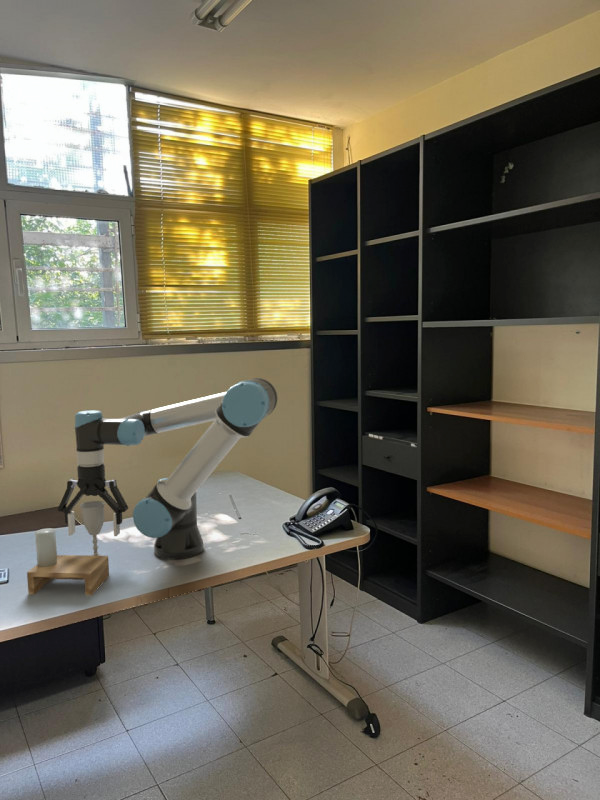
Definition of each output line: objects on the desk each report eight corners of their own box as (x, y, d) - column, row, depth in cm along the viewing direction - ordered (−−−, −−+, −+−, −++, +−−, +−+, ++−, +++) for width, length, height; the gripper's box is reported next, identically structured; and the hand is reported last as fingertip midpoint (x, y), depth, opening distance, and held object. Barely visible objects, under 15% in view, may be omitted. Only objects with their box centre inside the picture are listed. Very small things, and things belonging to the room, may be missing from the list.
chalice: (78, 566, 173) (74, 506, 171) (94, 557, 180) (90, 500, 178) (98, 569, 171) (94, 508, 169) (113, 560, 177) (110, 502, 175)
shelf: (109, 576, 166) (108, 555, 165) (91, 595, 154) (90, 573, 153) (50, 575, 167) (49, 554, 166) (28, 594, 155) (26, 572, 154)
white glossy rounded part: (60, 559, 162) (58, 528, 161) (51, 567, 157) (49, 534, 156) (43, 559, 163) (41, 528, 162) (33, 566, 158) (31, 534, 157)
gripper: (137, 461, 175) (140, 530, 177) (55, 460, 176) (59, 529, 179) (128, 467, 167) (131, 539, 170) (42, 466, 169) (47, 538, 171)
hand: (94, 534), depth 174 cm, fingers open, 13 cm apart
